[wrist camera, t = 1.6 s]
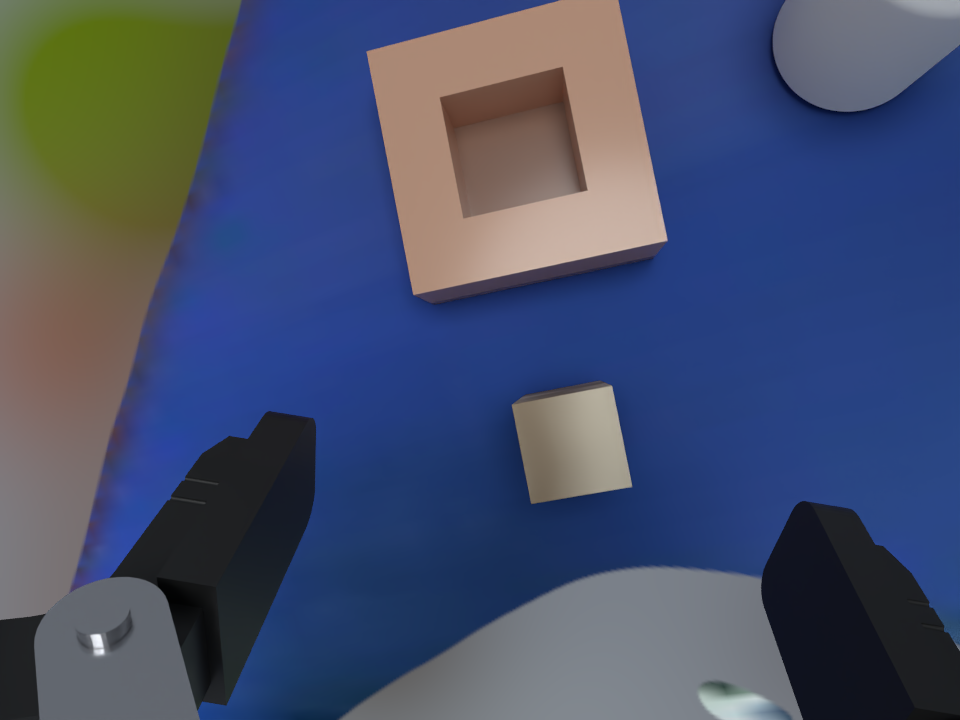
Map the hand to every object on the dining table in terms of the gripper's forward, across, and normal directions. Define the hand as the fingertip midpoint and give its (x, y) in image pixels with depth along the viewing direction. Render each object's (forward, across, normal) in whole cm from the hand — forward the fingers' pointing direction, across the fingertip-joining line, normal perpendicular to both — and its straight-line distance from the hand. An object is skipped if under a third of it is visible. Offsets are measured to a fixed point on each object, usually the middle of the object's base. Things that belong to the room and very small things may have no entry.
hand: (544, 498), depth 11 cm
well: (+31, +1, +2) cm, 31 cm away
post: (+24, -4, +14) cm, 28 cm away
